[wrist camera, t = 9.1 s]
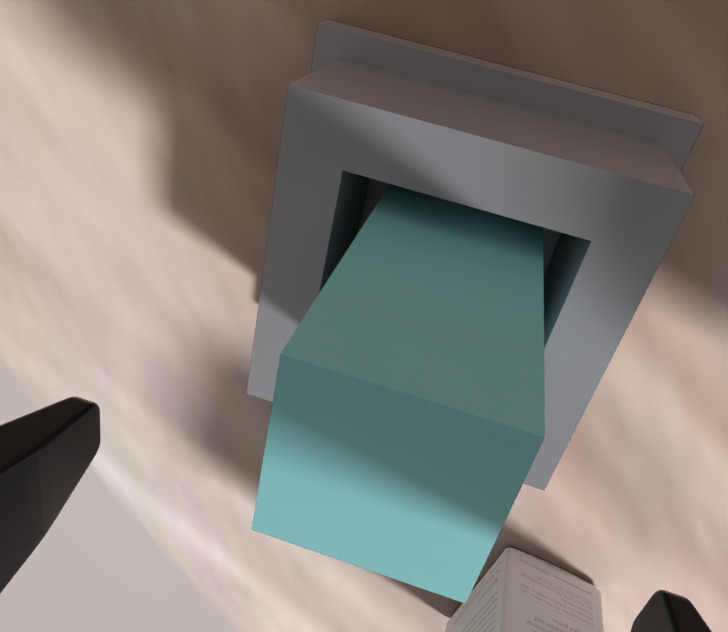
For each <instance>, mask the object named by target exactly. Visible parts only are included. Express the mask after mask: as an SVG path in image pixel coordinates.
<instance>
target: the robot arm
mask: <svg viewBox="0 0 728 632" xmlns="http://www.w3.org/2000/svg"><path fill="white" fill-rule="evenodd" d="M99 445H100V409H99V406H98V405H97V404H96V403H95V402H91V401H88V400H85V399H82V398H79V397H70V398H67V399H64V400H62V401H59V402H57V403H55V404H52V405H50V406H47V407H45V408H42V409H40V410H37V411H35V412H32V413H30V414H27V415H25V416H22V417H20V418H17V419H15V420H13V421H10V422H7V423H5V424H3V425H0V593H1V592H2V590H3V589H4V588H5V587H6V585H7V584H8V583H9V582H10V580H11V579H12V578H13V576H14V575H15V574H16V572H17V571H18V570H19V569H20V567H21V566H22V565H23V564H24V562H25V561H26V560H27V558H28V557H29V556H30V555H31V553H32V552H33V551H34V549H35V548H36V547H37V546H38V544H39V543H40V541H41V540H42V539H43V537H44V536H45V535H46V533H47V532H48V530H49V529H50V527H51V526H52V524H53V522H54V521H55V519H56V518H57V516H58V515H59V513H60V511H61V510H62V508H63V506H64V505H65V503H66V502H67V500H68V498H69V497H70V495H71V493H72V492H73V490H74V489H75V487H76V486H77V484H78V482H79V481H80V479H81V478H82V476H83V474H84V473H85V471H86V469H87V468H88V466H89V465H90V463H91V461H92V460H93V458H94V457H95V455H96V453H97V451H98V448H99ZM631 632H711V630H710V629H709V627H708V626H707V624H706V623H705V621H704V620H703V619H702V617H701V616H700V614H699V613H698V611H697V610H696V608H695V607H694V606H693V604H692V603H691V602H690V601H689V600H688V599H687V598H685V597H683V596H680V595H677V594H674V593H671V592H668V591H665V590H659V591H657V592H655V593H654V594H653V596H652V597H651V598H650V600H649V601H648V602H647V604H646V605H645V607H644V608H643V609H642V611H641V612H640V613H639V615H638V616H637V617H636V619H635V621H634V623H633V625H632V629H631Z"/></svg>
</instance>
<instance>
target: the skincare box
mask: <svg viewBox="0 0 728 632" xmlns="http://www.w3.org/2000/svg"><path fill="white" fill-rule="evenodd" d="M445 632H604V628H603V617H602V603H601V592H600V591H599V590H598V589H597V588H596V587H595V586H594V585H592V584H590V583H588V582H586V581H584V580H582V579H580V578H579V577H577V576H575V575H573V574H570V573H569V572H567V571H564V570H562V569H560V568H558V567H556V566H554V565H552V564H550V563H547V562H545V561H543V560H541V559H539V558H536V557H534V556H532V555H529V554H527V553H525V552H522V551H519V550H517V549H514V548H506V549H505V550H504V551H503V553H502V554H501V555H500V557H499V558H498V559H497V560H496V562H495V563H494V564H493V565H492V567H491V568H490V569H489V571H488V572H487V573H486V574H485V576H484V577H483V578H482V579H481V581H480V582H479V583H478V584H477V586H476V587H475V588H474V589H473V591H472V592H471V593H470V595H469V597H468V599H467V602H466V604H465V603H462V605H461V606H460V607H459V608H458V610H457V611H456V612H455V613H454V615H453V616H452V617H451V618H450V620H449V621H448V623H447V626H446V631H445Z"/></svg>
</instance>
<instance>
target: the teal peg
mask: <svg viewBox="0 0 728 632" xmlns="http://www.w3.org/2000/svg"><path fill="white" fill-rule="evenodd" d="M544 439H545V380H544V281H543V227H540V226H537V225H533V224H530V223H526V222H523V221H519V220H516V219H512V218H508V217H505V216H501V215H498V214H494V213H491V212H487V211H484V210H480V209H477V208H473V207H470V206H466V205H463V204H459V203H456V202H452V201H449V200H445V199H442V198H438V197H435V196H431V195H428V194H424V193H421V192H417V191H413V190H410V189H406V188H403V187H399V186H396V185H392V184H390V185H389V186H388V188H387V190H386V191H385V193H384V194H383V196H382V197H381V199H380V200H379V202H378V203H377V205H376V207H375V208H374V210H373V211H372V213H371V214H370V216H369V217H368V219H367V220H366V222H365V224H364V225H363V227H362V228H361V230H360V231H359V233H358V234H357V236H356V237H355V239H354V241H353V242H352V244H351V245H350V247H349V248H348V250H347V251H346V253H345V254H344V256H343V258H342V259H341V261H340V262H339V264H338V265H337V267H336V268H335V270H334V271H333V273H332V275H331V276H330V278H329V279H328V281H327V282H326V284H325V285H324V287H323V289H322V290H321V292H320V293H319V295H318V296H317V298H316V299H315V301H314V302H313V304H312V306H311V307H310V309H309V310H308V312H307V313H306V315H305V316H304V318H303V319H302V321H301V323H300V324H299V326H298V327H297V329H296V330H295V332H294V333H293V335H292V336H291V338H290V340H289V341H288V343H287V344H286V346H285V347H284V349H283V350H282V352H281V353H280V359H279V365H278V371H277V377H276V383H275V389H274V395H273V401H272V408H271V414H270V420H269V426H268V432H267V438H266V444H265V451H264V457H263V463H262V469H261V475H260V481H259V487H258V494H257V500H256V506H255V512H254V518H253V524H252V530H254V531H257V532H260V533H262V534H265V535H268V536H271V537H274V538H277V539H280V540H283V541H286V542H289V543H291V544H294V545H297V546H300V547H303V548H306V549H309V550H312V551H315V552H318V553H320V554H323V555H326V556H329V557H332V558H335V559H338V560H341V561H344V562H346V563H349V564H352V565H355V566H358V567H361V568H364V569H367V570H370V571H373V572H375V573H378V574H381V575H384V576H387V577H390V578H393V579H396V580H399V581H401V582H404V583H407V584H410V585H413V586H416V587H419V588H422V589H425V590H428V591H430V592H433V593H436V594H439V595H442V596H445V597H448V598H451V599H454V600H456V601H459V602H462V603H465V604H466V602H467V599H468V597H469V595H470V593H471V591H472V589H473V587H474V585H475V583H476V581H477V579H478V576H479V574H480V572H481V570H482V568H483V566H484V564H485V562H486V560H487V558H488V556H489V553H490V551H491V549H492V547H493V545H494V543H495V541H496V539H497V537H498V535H499V533H500V530H501V528H502V526H503V524H504V522H505V520H506V518H507V516H508V514H509V512H510V510H511V507H512V505H513V503H514V501H515V499H516V497H517V495H518V493H519V491H520V489H521V487H522V484H523V482H524V480H525V478H526V476H527V474H528V472H529V470H530V468H531V466H532V464H533V462H534V459H535V457H536V455H537V453H538V451H539V449H540V447H541V445H542V443H543V441H544Z"/></svg>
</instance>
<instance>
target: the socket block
mask: <svg viewBox="0 0 728 632" xmlns="http://www.w3.org/2000/svg"><path fill="white" fill-rule="evenodd" d="M702 126H703V123H702V122H701V121H700V120H699V119H698V118H697V116H696V115H693V114H689V113H685V112H681V111H677V110H673V109H670V108H666V107H662V106H658V105H654V104H650V103H647V102H643V101H639V100H635V99H631V98H627V97H624V96H620V95H616V94H612V93H608V92H604V91H601V90H597V89H593V88H589V87H585V86H581V85H578V84H574V83H570V82H566V81H562V80H558V79H555V78H551V77H547V76H543V75H539V74H535V73H532V72H528V71H524V70H520V69H516V68H512V67H509V66H505V65H501V64H497V63H493V62H489V61H486V60H482V59H478V58H474V57H470V56H466V55H463V54H459V53H455V52H451V51H447V50H443V49H440V48H436V47H432V46H428V45H424V44H420V43H417V42H413V41H409V40H405V39H401V38H397V37H394V36H390V35H386V34H382V33H378V32H374V31H371V30H367V29H363V28H359V27H355V26H351V25H348V24H344V23H340V22H336V21H332V20H326V21H323V22H320V23H318V27H317V33H316V40H315V46H314V53H313V59H312V66H311V73H309V74H307V75H305V76H303V77H301V78H299V79H298V80H296V81H294V82H292V83H290V84H288V91H287V98H286V106H285V113H284V121H283V128H282V135H281V143H280V150H279V158H278V165H277V172H276V180H275V187H274V195H273V202H272V209H271V217H270V224H269V232H268V239H267V246H266V254H265V261H264V269H263V276H262V283H261V291H260V298H259V305H258V313H257V320H256V328H255V335H254V342H253V350H252V357H251V365H250V372H249V379H248V387H247V394H249V395H252V396H255V397H258V398H261V399H264V400H267V401H271V402H272V401H273V395H274V389H275V383H276V377H277V371H278V365H279V359H280V353H281V352H282V350H283V349H284V347H285V346H286V344H287V343H288V341H289V340H290V338H291V336H292V335H293V333H294V332H295V330H296V329H297V327H298V326H299V324H300V323H301V321H302V319H303V318H304V316H305V315H306V313H307V312H308V310H309V309H310V307H311V306H312V304H313V302H314V301H315V299H316V298H317V296H318V295H319V293H320V292H321V290H322V289H323V287H324V285H325V284H326V282H327V281H328V279H329V278H330V276H331V275H332V273H333V271H334V270H335V268H336V267H337V265H338V264H339V262H340V261H341V259H342V258H343V256H344V254H345V253H346V251H347V250H348V248H349V247H350V245H351V244H352V242H353V241H354V239H355V237H356V236H357V234H358V233H359V231H360V230H361V228H362V227H363V225H364V224H365V222H366V220H367V219H368V217H369V216H370V214H371V213H372V211H373V210H374V208H375V207H376V205H377V203H378V202H379V200H380V199H381V197H382V196H383V194H384V193H385V191H386V190H387V188H388V186H389V185H390V184H392V185H396V186H399V187H403V188H406V189H410V190H413V191H417V192H421V193H424V194H428V195H431V196H435V197H438V198H442V199H445V200H449V201H452V202H456V203H459V204H463V205H466V206H470V207H473V208H477V209H480V210H484V211H487V212H491V213H494V214H498V215H501V216H505V217H508V218H512V219H516V220H519V221H523V222H526V223H530V224H533V225H537V226H540V227H543V281H544V380H545V439H544V441H543V443H542V445H541V447H540V449H539V451H538V453H537V455H536V457H535V459H534V462H533V464H532V466H531V468H530V470H529V472H528V474H527V476H526V478H525V480H524V482H523V484H526V485H529V486H532V487H535V488H539V489H542V490H545V488H546V486H547V484H548V482H549V480H550V478H551V476H552V474H553V472H554V470H555V468H556V466H557V464H558V463H559V461H560V459H561V457H562V455H563V453H564V451H565V449H566V447H567V445H568V443H569V441H570V439H571V437H572V435H573V433H574V431H575V429H576V427H577V425H578V423H579V421H580V419H581V417H582V415H583V414H584V412H585V410H586V408H587V406H588V404H589V402H590V400H591V398H592V396H593V394H594V392H595V390H596V388H597V386H598V384H599V382H600V380H601V378H602V376H603V374H604V372H605V370H606V368H607V367H608V365H609V363H610V361H611V359H612V357H613V355H614V353H615V351H616V349H617V347H618V345H619V343H620V341H621V339H622V337H623V335H624V333H625V331H626V329H627V327H628V325H629V323H630V321H631V320H632V318H633V316H634V314H635V312H636V310H637V308H638V306H639V304H640V302H641V300H642V298H643V296H644V294H645V292H646V290H647V288H648V286H649V284H650V282H651V280H652V278H653V276H654V274H655V272H656V271H657V269H658V267H659V265H660V263H661V261H662V259H663V257H664V255H665V253H666V251H667V249H668V247H669V245H670V243H671V241H672V239H673V237H674V235H675V233H676V231H677V229H678V227H679V225H680V224H681V222H682V220H683V218H684V216H685V214H686V212H687V210H688V208H689V206H690V204H691V202H692V200H693V198H694V196H695V195H694V193H693V191H692V190H691V188H690V187H689V185H688V184H687V182H686V180H685V179H684V177H683V176H682V174H681V173H680V171H681V169H682V167H683V165H684V163H685V161H686V159H687V157H688V155H689V153H690V151H691V149H692V147H693V145H694V143H695V141H696V139H697V137H698V135H699V133H700V130H701V128H702Z"/></svg>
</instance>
